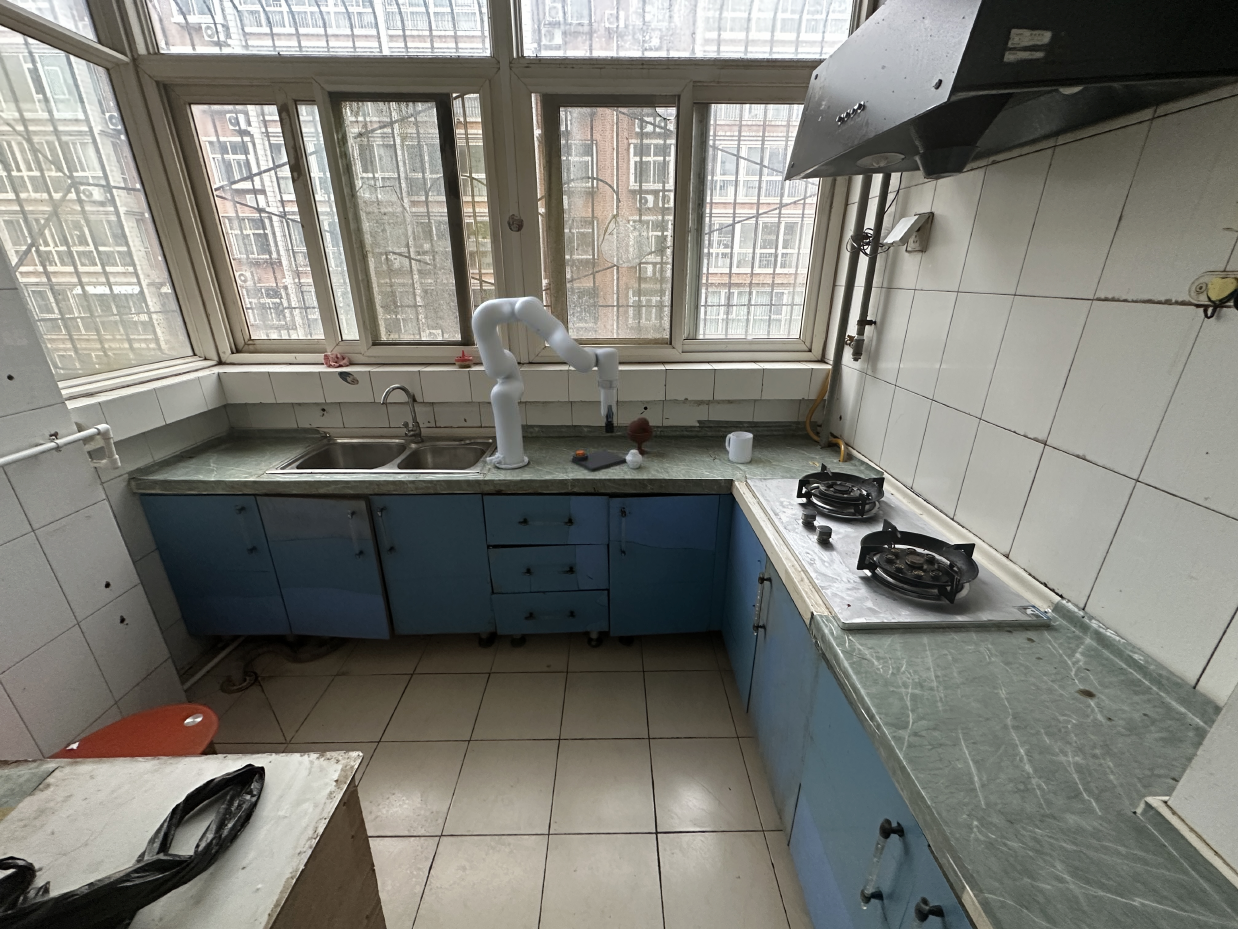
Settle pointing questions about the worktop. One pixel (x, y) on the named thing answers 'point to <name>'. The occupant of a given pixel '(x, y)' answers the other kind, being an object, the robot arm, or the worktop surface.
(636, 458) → the muffin
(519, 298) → the robot arm
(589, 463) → the scale
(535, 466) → the worktop surface
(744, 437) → the cup
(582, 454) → the button
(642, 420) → the ice cream bowl
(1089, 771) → the worktop surface
